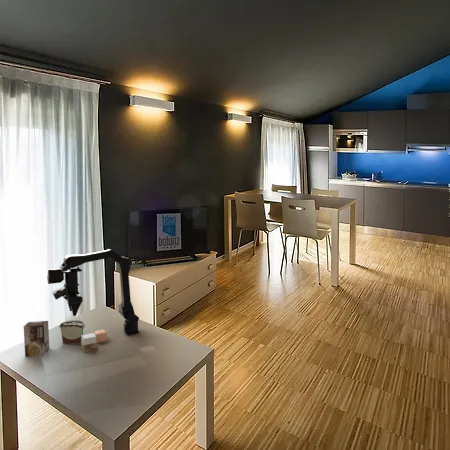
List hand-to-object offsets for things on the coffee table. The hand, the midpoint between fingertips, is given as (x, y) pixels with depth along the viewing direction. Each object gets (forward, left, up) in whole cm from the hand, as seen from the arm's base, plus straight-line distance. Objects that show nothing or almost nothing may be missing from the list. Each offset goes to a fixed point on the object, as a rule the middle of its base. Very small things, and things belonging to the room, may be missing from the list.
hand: (72, 313), depth 180 cm
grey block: (-5, +8, -13) cm, 16 cm away
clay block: (-12, 0, -16) cm, 20 cm away
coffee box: (+16, -2, -19) cm, 25 cm away
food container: (-1, -5, -16) cm, 17 cm away
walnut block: (-5, +8, -16) cm, 19 cm away
